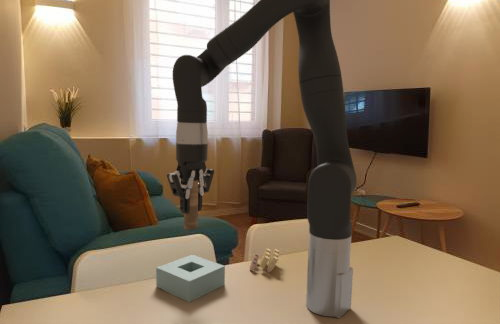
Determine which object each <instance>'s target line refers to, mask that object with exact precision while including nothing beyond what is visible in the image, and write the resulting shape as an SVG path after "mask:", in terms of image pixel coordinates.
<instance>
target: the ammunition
mask: <svg viewBox="0 0 500 324" xmlns="http://www.w3.org/2000/svg"><path fill="white" fill-rule="evenodd" d="M272 251H273V252H272ZM271 252H272V254H271ZM279 253H280V250H279V249H277V248H274V250H271V249H270V248H265V250H264V252H263V254H262V256H261V259H260V264H259V267H260V268H262V269H265V267H266V266H267V270H266V271H267V273H271V272H272V271H273V269H274V268H275V266H276V265H277V263H278V261H279V256H280V254H279ZM259 258H260V256H259V255H258V254H255V253H254V255H253V257H252V260H251V262H250V267H249V271H250V270H251V271H250V272H252V271H253V270H255V269H256V267H257V265H258V261H259Z"/></svg>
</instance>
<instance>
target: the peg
mask: <svg viewBox="0 0 500 324" xmlns="http://www.w3.org/2000/svg"><path fill="white" fill-rule="evenodd" d="M184 185H187V184H186V183H184ZM184 193H185V191H184ZM189 199H190V200H189V213H188V214H184V213H183V228H184V230H187V231H188V230H189V231H195V230H197V229H198V228H199V211H198V180H196V181H193V185H192V189H191V190H190V195H189Z"/></svg>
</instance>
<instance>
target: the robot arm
mask: <svg viewBox="0 0 500 324" xmlns="http://www.w3.org/2000/svg"><path fill="white" fill-rule="evenodd" d="M291 14H293V16H294V20H295V21H294V22H295V24H296V30H297V35H298V44H299V46H298V69H297V70H298V71H297V72H298V84H299V85H298V86H299V91H300V97H301V98H300V99H301V103H302V104H301V105H302V108H303V112H304V114H305V117H306V119H307V122H308V125H309V127H310V130H311V132H312V135H313V138H314V142H315V148H316V149H315V150H316V161H317V164H316V167H315V168H314V169H313V170H312V171H311V173H310V175H309V178H308V182H307V199H306V200H307V201H306V202H307V205H306V206H307V213H306V214H307V215H306V216H307V217H306V218H307V222H308V224H309V225H308V230H309V231H308V235H309V236H308V251H307V271H306V272H307V275H306V295H305V296H306V297H305V299H306V300H305V301H306V302H305V304H306V307H307V309H308V310H309V311H310V312H312V313H314V314H316V315H319V316H324V317H333V318H334V317H335V318H338V319H341V318H342V317H343V316H344V315H345V314H346V313H347V312H348V311H349V310H350V309H351V308H352V294H353V293H352V292H353V276H354V268H353V267H352V266H351V249H352V235H353V234H352V233H353V224H352V221H351V205H352V204H351V202H352V194H354V192H355V190H356V187H357V174H356V170H355V166H354V162H353V159H352V155H351V154H352V153H351V150H350V146H349V141H348V132H347V116H346V114H347V113H346V105H345V103H346V102H345V91H344V86H343V85H344V83H343V78H342V71H341V66H340V65H341V64H340V61H339V56H338V53H337V49H336V46H335V43H334V39H333V34H332V29H331V27H332V26H331V0H258V1H257V2H256V3H255V4H254V5H253V6H252V7H251V8H249V9H248V10H247V11H246V12H244V13H243V14H242V15H241V16H240V17H238V18H237V19H236V20H234V21H233V22H232V23H231V24H229V25H228V26H227V27H225V28H223V29H222V30H221V31H220V32H219V33H217V34H216V35H214V36H213V37H212V38H211V39H210V40H208V42H207V43H206V49H204V51H202V52H201V53H200V54H199V55H197V56H194V55H192V54H182V55H180V56H179V57H178V58H177V59H176V60H175V62H174V64H173V67H172V68H173V69H172V85H173V89H174V95H175V99H176V103H177V106H176V107H177V111H176V113H177V114H176V115H177V116H176V118H177V119H176V132H175V149H176V150H175V160H176V162H177V166H176V170H175V171H174V172H168V173H167V174H166V177H167V181H168V184H169V188H170V190H171V193H172V196H174V197H178V198H179V210H180V212H181V213H182V214H183V215H184V214H188V213H189V200H190V199H189V195H190V190H191V189H192V185H193V181H196V180H198V212H200V211H202V208H203V196H204V195H205V193H209V191H210V188H211V185H212V183H213V182H212V181H213V178H214V174H215V170H214V169H211V168H207V165H206V162H207V161H208V151H209V150H208V149H209V148H208V145H209V144H208V143H209V140H208V137H209V133H208V132H209V131H208V106H207V105H208V104H207V101H206V100H205V99H204V97H203V91H202V89H203V87H205V86H207V85H209V83H211V82H212V81H213V80H214V79H216V78H217V77H218V76H219V75H220V74H221V73H222V72H223V71H224V70H225V69H226V67H228V66H229V65H230V64H233V62H235V61H237V60H238V59H240V58H241V57H242V56H244V55H245V54H247V53H248V52H249V51H250V50H252V49H253V48H254V47H255V46H256V44H258V43H259V42H260V40H261V39H263V37H264V36H265V35H266V34H267V33H268V32H269V30H271V29H272V28H273V27H274V26H275V25H276V24H277V23H279V22H280V21H282V19H284V18H285V17H287V16H289V15H291ZM184 183H186V184H187V185H184ZM184 191H185V193H184Z"/></svg>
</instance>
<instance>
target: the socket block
mask: <svg viewBox="0 0 500 324" xmlns="http://www.w3.org/2000/svg"><path fill="white" fill-rule="evenodd" d="M155 269H156V272H155V276H156V278H155V279H156V280H155V281H156V286H157V287H156V288H158V287H159V289H160V288H161V290H162V289H163V290H162V291H165V292H167V293H169V294H171V295H173V296H175V297H177V298H179V299H182V300H184V301H186V302H188V303H191V302H192V301H194V300H197V299H199V298H201V297H203V296H205V295H207V294H209V293H211V292H213V291H215V290H217V289H219V288H222V287H224V286H225V284H226V283H225V282H226V281H225V280H226V279H225V277H226V276H225V274H226V266H225V265H223V264H221V263H217V262H215V261H212V260H208V259H206V258H204V257H200V256H197V255H195V254H190V255H187V256H184V257H182V258H179V259H176V260H174V261H171V262H168V263H165V264H162V265H160V266H159V265H158V266H157V267H156V268H155Z"/></svg>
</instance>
